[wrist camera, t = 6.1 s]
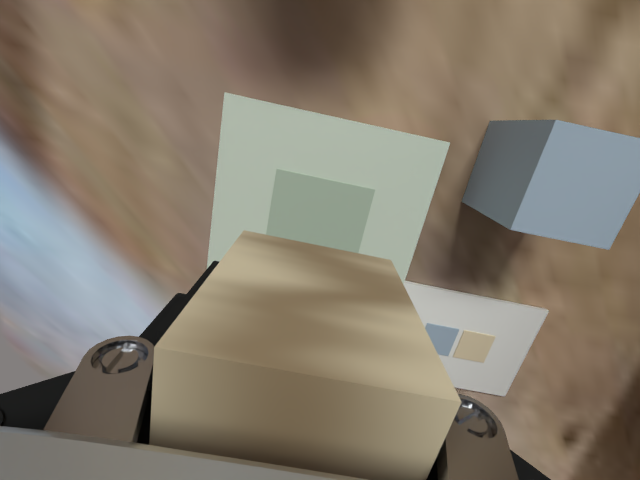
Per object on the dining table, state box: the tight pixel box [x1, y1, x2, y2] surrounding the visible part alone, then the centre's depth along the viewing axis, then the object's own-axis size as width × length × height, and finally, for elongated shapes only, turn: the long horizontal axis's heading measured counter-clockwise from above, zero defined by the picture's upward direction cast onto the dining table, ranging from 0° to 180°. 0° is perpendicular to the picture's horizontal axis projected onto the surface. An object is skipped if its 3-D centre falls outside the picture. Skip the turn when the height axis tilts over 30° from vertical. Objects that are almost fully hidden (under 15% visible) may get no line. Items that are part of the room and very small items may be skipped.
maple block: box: [149, 230, 461, 480], centre depth 9 cm, size 5×5×6 cm
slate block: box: [462, 120, 640, 250], centre depth 18 cm, size 5×5×6 cm
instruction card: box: [403, 281, 549, 397], centre depth 25 cm, size 11×8×1 cm
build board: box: [207, 93, 450, 284], centre depth 21 cm, size 13×13×1 cm
